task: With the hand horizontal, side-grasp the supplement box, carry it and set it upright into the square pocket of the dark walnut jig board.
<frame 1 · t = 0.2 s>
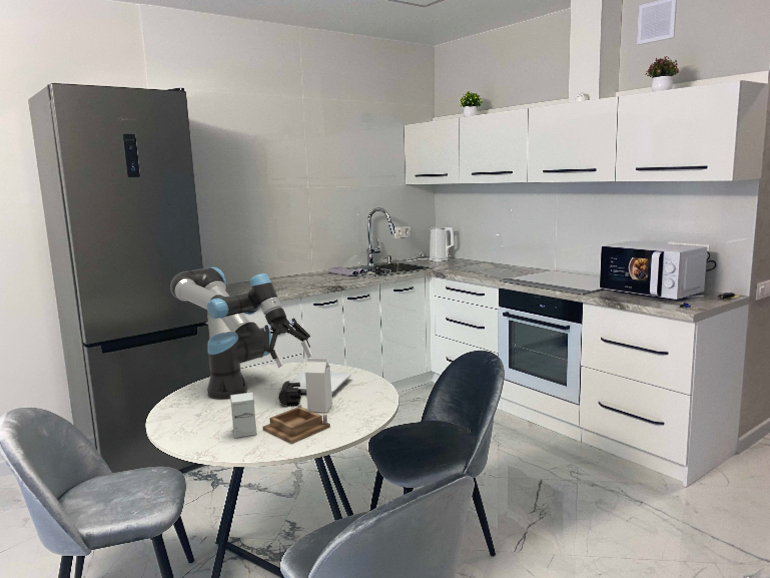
hand: (295, 361, 218), 15 cm above the table, tool tilted 35°, fingers open, 13 cm apart
jig: (296, 428, 195), on the table
supplement box: (245, 433, 194), on the table
milk carton: (320, 409, 211), on the table
salad plate: (318, 387, 234), on the table
end cap: (290, 402, 219), on the table
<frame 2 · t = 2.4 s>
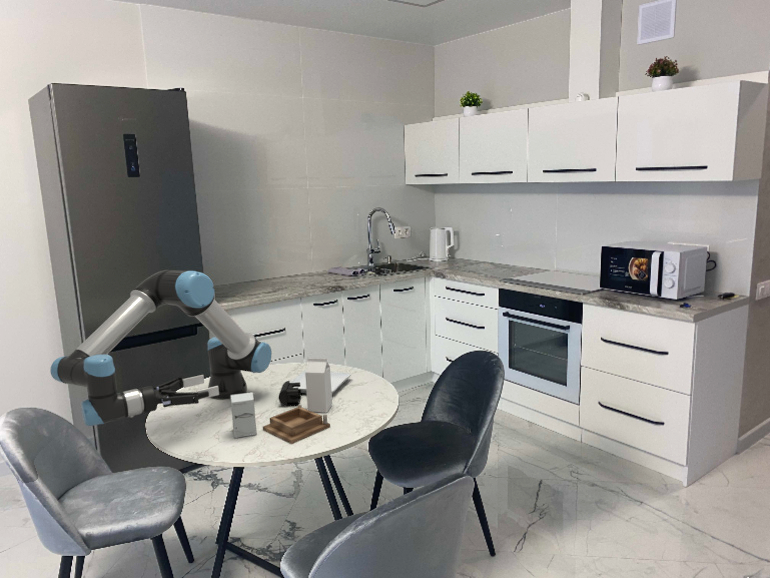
hand: (210, 384, 185), 19 cm above the table, tool horizontal, fingers open, 13 cm apart
nothing on the table moved.
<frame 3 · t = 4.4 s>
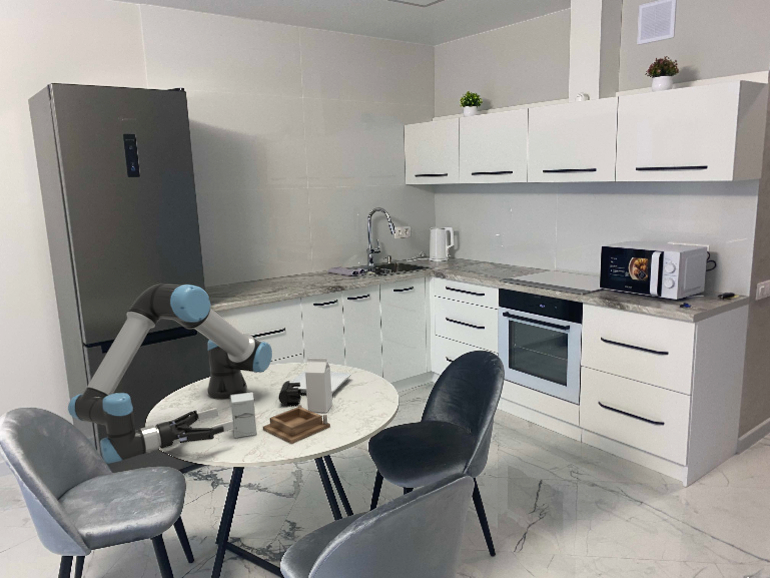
hand: (225, 418, 189), 7 cm above the table, tool horizontal, fingers open, 13 cm apart
nothing on the table moved.
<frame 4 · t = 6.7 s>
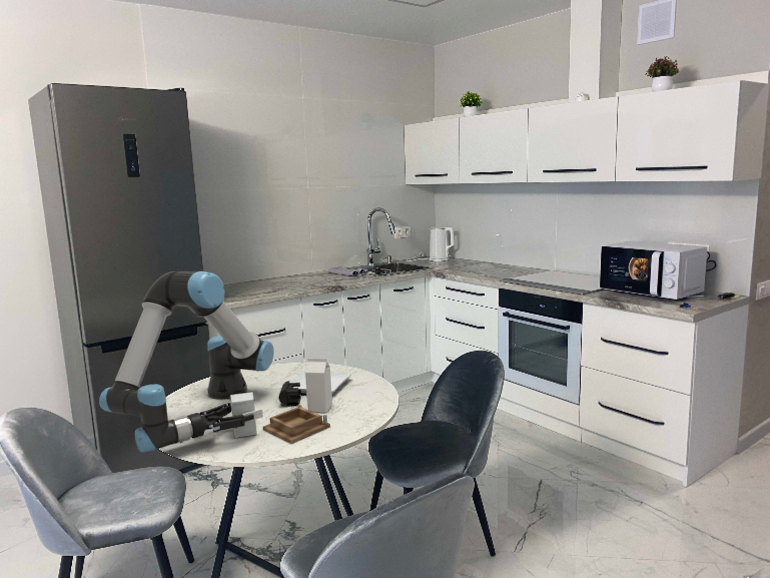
hand: (256, 408, 195), 7 cm above the table, tool horizontal, fingers closed on supplement box, 9 cm apart
supplement box: (245, 433, 194), on the table, touching gripper
everything else where it was.
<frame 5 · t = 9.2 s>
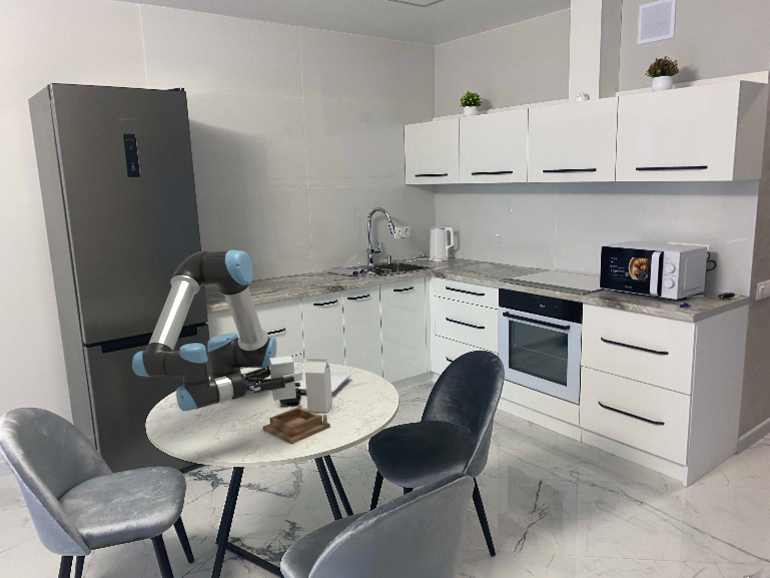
hand: (295, 372, 193), 19 cm above the table, tool horizontal, fingers closed on supplement box, 9 cm apart
supplement box: (284, 396, 192), point 12 cm above the table, touching gripper
everything else where it was.
when the fingers open (10 cm above the table, at t = 11.8 s): supplement box drops 1 cm, resting on jig.
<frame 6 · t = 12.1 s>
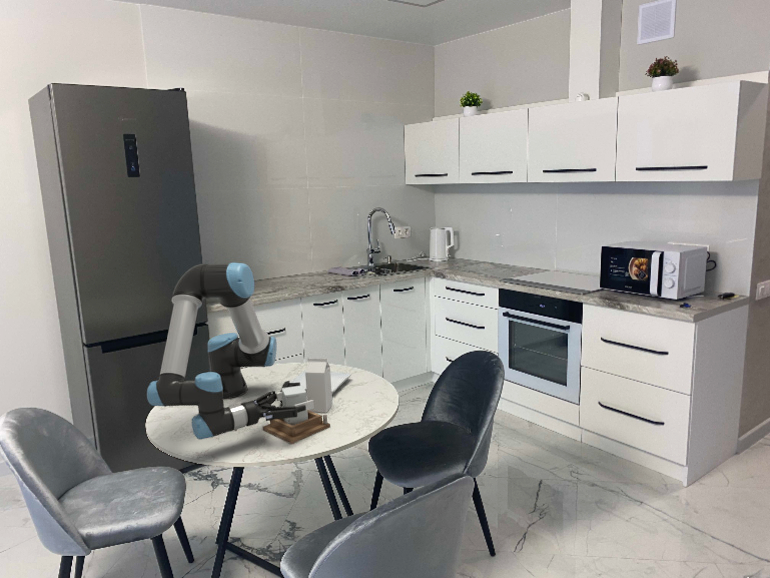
hand: (303, 398, 195), 10 cm above the table, tool horizontal, fingers open, 13 cm apart
supplement box: (296, 425, 195), point 1 cm above the table, touching jig
everything else where it was.
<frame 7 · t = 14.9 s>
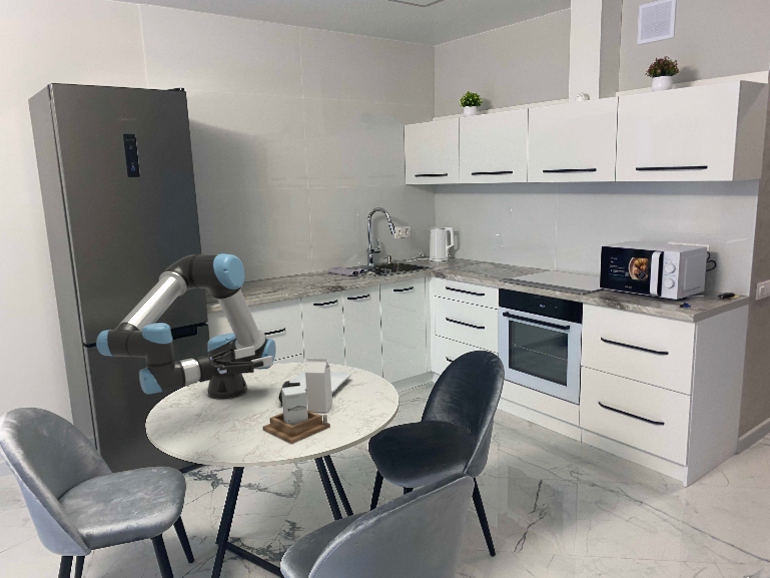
hand: (262, 355, 185), 28 cm above the table, tool horizontal, fingers open, 13 cm apart
nothing on the table moved.
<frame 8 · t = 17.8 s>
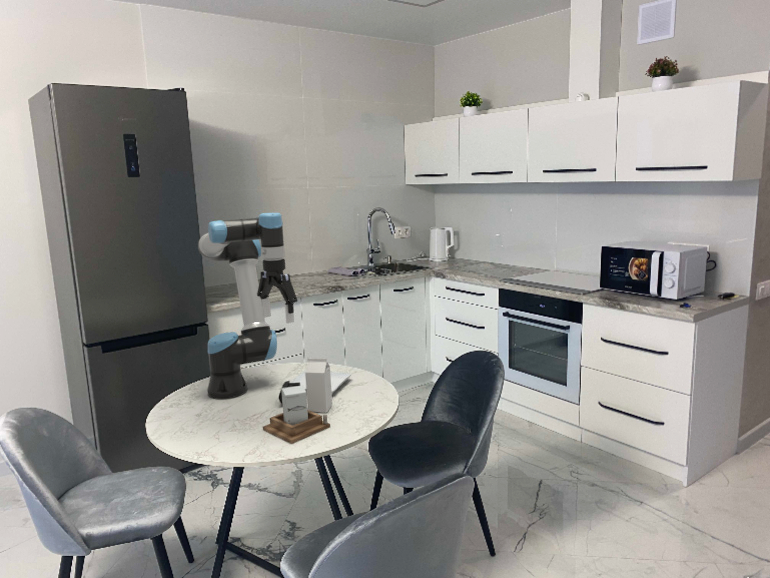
hand: (278, 319, 201), 35 cm above the table, tool pointing down, fingers open, 13 cm apart
nothing on the table moved.
at the end: supplement box 0.2 cm off-centre on the jig, point 1.0 cm above the jig's base; supplement box tilted 0°; the gripper is holding nothing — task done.
